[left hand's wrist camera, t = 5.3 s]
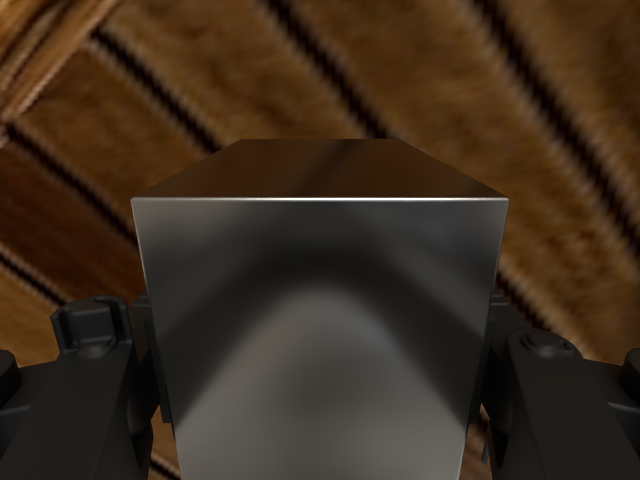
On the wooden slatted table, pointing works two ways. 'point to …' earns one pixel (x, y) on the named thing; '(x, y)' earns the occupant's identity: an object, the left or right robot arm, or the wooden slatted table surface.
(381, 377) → the bar
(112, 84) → the wooden slatted table surface
